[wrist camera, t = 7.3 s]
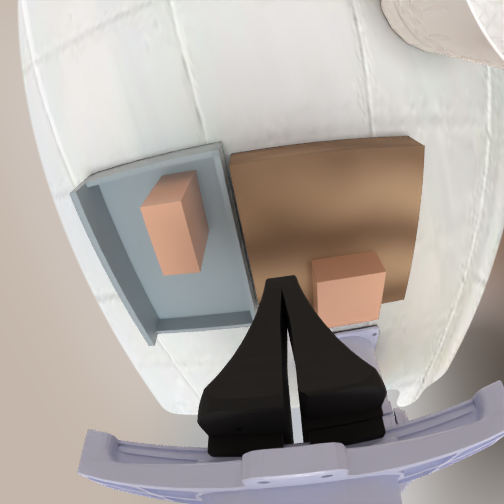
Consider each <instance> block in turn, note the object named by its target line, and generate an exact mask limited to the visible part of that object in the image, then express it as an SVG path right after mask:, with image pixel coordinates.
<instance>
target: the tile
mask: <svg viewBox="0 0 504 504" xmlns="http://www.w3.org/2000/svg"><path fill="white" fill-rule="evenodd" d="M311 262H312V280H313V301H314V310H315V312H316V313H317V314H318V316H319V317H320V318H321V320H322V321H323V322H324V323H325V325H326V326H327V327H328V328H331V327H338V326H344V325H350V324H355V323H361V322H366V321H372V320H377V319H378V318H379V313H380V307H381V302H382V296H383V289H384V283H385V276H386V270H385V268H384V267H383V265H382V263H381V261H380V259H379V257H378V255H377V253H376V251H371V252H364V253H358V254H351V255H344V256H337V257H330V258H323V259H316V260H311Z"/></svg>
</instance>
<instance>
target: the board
mask: <svg viewBox="0 0 504 504" xmlns="http://www.w3.org/2000/svg"><path fill="white" fill-rule="evenodd" d="M424 150H425V146H424V145H422V144H420V143H419V142H417V141H415V140H414V139H412V138H410V137H409V136H400V137H376V138H359V139H346V140H334V141H323V142H313V143H304V144H296V145H288V146H280V147H273V148H266V149H259V150H253V151H246V152H240V153H234V154H231V157H230V162H229V169H230V174H231V179H232V183H233V188H234V193H235V197H236V202H237V207H238V211H239V216H240V221H241V225H242V230H243V235H244V239H245V244H246V248H247V253H248V258H249V262H250V267H251V272H252V276H253V281H254V285H255V290H256V294H257V299H258V304H260V301H261V298H262V295H263V291H264V286H265V281H266V280H267V279H268V278H276V277H283V276H290V275H295V276H296V277H297V280H298V283H299V285H300V287H301V289H302V291H303V293H304V295H305V296H306V298H307V300H308V301H309V303H310V304H311V306H312V307H313V309H314V301H313V280H312V262H311V260H316V259H323V258H330V257H337V256H344V255H351V254H358V253H364V252H371V251H376V253H377V255H378V257H379V259H380V261H381V263H382V265H383V267H384V268H385V270H386V276H385V283H384V289H383V296H382V302H381V304H383V303H388V302H393V301H398V300H403V299H404V297H405V293H406V288H407V284H408V279H409V274H410V269H411V264H412V258H413V253H414V247H415V241H416V234H417V227H418V220H419V212H420V203H421V194H422V182H423V169H424Z"/></svg>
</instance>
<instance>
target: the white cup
mask: <svg viewBox="0 0 504 504" xmlns="http://www.w3.org/2000/svg"><path fill="white" fill-rule="evenodd" d="M381 7H382V11H383V13H384V15H385V16H386V18H387V20H388V22H389V24H390V26H391V28H392V29H393V30H394V31H395V32H396V33H397V34H398V35H399V36H400V37H401V38H402V39H403V40H404V41H405V42H406V43H408V44H410V45H412V46H415V47H417V48H419V49H421V50H423V51H426V52H434V53H441V54H444V55H447V56H451V57H455V58H460V59H464V60H467V61H472V62H476V63H480V64H484V65H488V66H492V67H496V68H500V69H503V70H504V0H381Z"/></svg>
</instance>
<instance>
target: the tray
mask: <svg viewBox="0 0 504 504" xmlns="http://www.w3.org/2000/svg"><path fill="white" fill-rule="evenodd" d="M192 170H196V173H197V178H198V183H199V187H200V192H201V197H202V201H203V206H204V210H205V214H206V219H207V223H208V228H209V234H208V239H207V243H206V248H205V252H204V257H203V262H202V267H201V271H200V272H199V273H188V274H176V275H165V276H164V275H163V272H162V270H161V267H160V264H159V262H158V259H157V256H156V253H155V251H154V248H153V245H152V242H151V239H150V236H149V233H148V230H147V228H146V225H145V222H144V219H143V215H142V212H141V209H140V207H141V205H142V204H143V202H144V201H145V199H146V198H147V196H148V195H149V194H150V192H151V191H152V189H153V188H154V186H155V185H156V183H157V182H158V181H159V179H160V178H161V176H162V175H168V174H174V173H179V172H185V171H192ZM70 196H71V199H72V201H73V204H74V206H75V208H76V211H77V213H78V215H79V218H80V220H81V222H82V224H83V226H84V229H85V231H86V233H87V235H88V237H89V239H90V241H91V243H92V246H93V248H94V250H95V252H96V254H97V256H98V258H99V260H100V262H101V264H102V266H103V267H104V269H105V271H106V273H107V275H108V277H109V279H110V281H111V283H112V284H113V286H114V288H115V290H116V292H117V293H118V295H119V297H120V299H121V300H122V302H123V304H124V306H125V307H126V309H127V311H128V313H129V314H130V316H131V318H132V319H133V321H134V323H135V324H136V326H137V327H138V329H139V331H140V332H141V334H142V335H143V337H144V339H145V340H146V342H147V343H148V345H149V346H155V342H156V338H157V335H158V334H161V333H178V332H193V331H206V330H217V329H228V328H239V327H248V326H251V324H252V322H253V320H254V317H255V315H256V312H257V310H258V307H257V303H256V298H255V294H254V289H253V285H252V280H251V276H250V271H249V267H248V262H247V258H246V253H245V249H244V244H243V240H242V235H241V231H240V226H239V222H238V217H237V212H236V208H235V203H234V199H233V194H232V190H231V185H230V180H229V176H228V171H227V167H226V162H225V157H224V153H223V148H222V143H221V142H217V143H212V144H207V145H202V146H197V147H192V148H188V149H183V150H179V151H175V152H170V153H166V154H162V155H158V156H154V157H150V158H146V159H142V160H138V161H135V162H131V163H128V164H124V165H120V166H117V167H114V168H110V169H107V170H104V171H100V172H97V173H94V174H91V175H90V176H89V177H87V178H86V179H85V180H84V181H83V182H82V183H81V184H80V185H78V186H77V187H76V188H75V189H74V190H73V191H72V192H71V193H70Z"/></svg>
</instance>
